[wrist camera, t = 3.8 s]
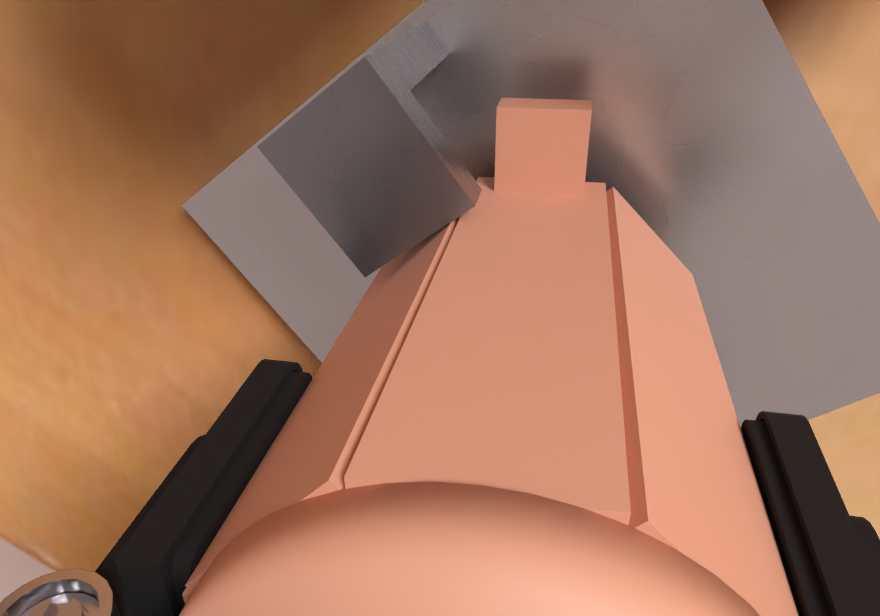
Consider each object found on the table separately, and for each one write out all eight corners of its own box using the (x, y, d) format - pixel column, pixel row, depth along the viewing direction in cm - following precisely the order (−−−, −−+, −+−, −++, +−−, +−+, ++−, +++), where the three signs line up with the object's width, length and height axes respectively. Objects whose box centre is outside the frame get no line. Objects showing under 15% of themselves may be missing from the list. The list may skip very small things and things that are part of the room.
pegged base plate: (201, 192, 18) (-229, 488, 9) (654, -189, 12) (845, -533, 3) (487, 519, 22) (406, 975, 12) (934, 340, 16) (1410, 925, 7)
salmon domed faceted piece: (374, 94, 13) (1, 374, 5) (733, 104, 12) (1068, 490, 4) (393, 470, 17) (219, 955, 9) (657, 502, 16) (731, 1087, 8)
